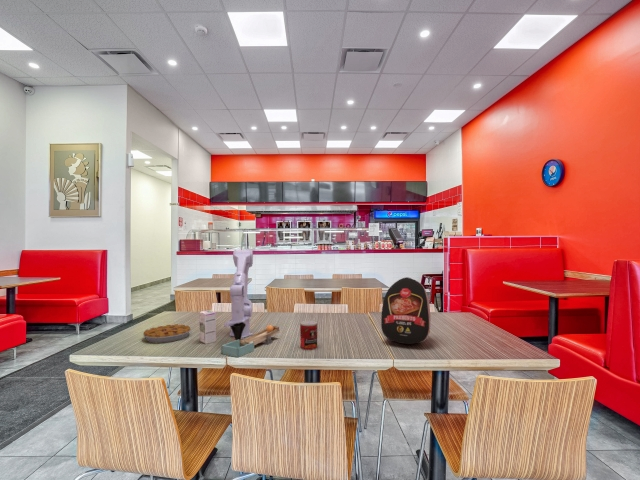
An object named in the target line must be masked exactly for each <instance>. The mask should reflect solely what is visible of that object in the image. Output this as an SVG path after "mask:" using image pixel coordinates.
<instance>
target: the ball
mask: <svg viewBox="0 0 640 480" xmlns="http://www.w3.org/2000/svg"><path fill="white" fill-rule="evenodd" d="M273 326H274V325H271V324H269V325H267V326H266V328H265V329H266V330H267V332H272V331H273Z"/></svg>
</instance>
